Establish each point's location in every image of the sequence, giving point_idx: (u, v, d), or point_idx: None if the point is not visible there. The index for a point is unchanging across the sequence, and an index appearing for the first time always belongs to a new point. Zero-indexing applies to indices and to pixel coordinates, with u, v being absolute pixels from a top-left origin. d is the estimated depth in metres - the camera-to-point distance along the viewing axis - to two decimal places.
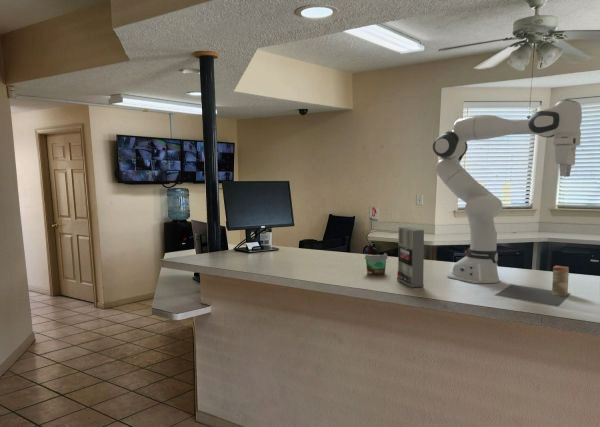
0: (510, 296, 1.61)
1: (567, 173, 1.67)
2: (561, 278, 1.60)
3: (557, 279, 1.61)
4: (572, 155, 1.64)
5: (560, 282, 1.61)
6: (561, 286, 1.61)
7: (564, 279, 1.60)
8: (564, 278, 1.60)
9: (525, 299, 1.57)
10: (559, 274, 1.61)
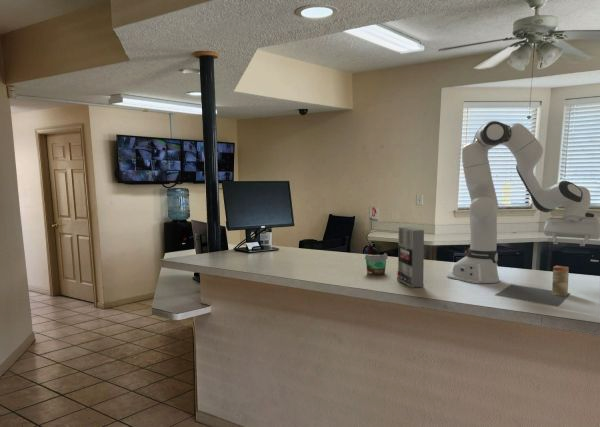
0: (510, 296, 1.61)
1: (557, 241, 1.73)
2: (561, 278, 1.60)
3: (557, 279, 1.61)
4: None
5: (560, 282, 1.61)
6: (561, 286, 1.61)
7: (564, 279, 1.60)
8: (564, 278, 1.60)
9: (525, 299, 1.57)
10: (559, 274, 1.61)
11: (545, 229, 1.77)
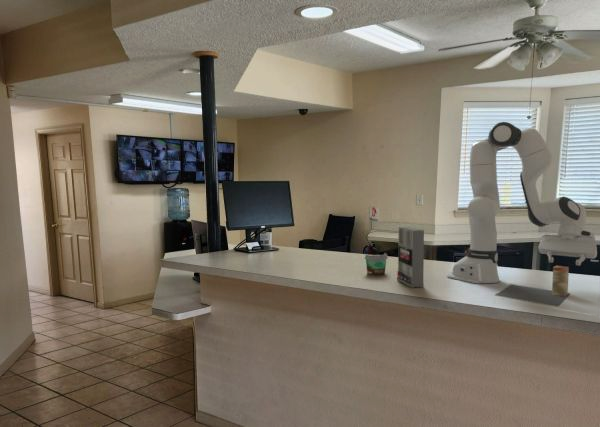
0: (510, 296, 1.61)
1: (553, 259, 1.69)
2: (561, 278, 1.60)
3: (557, 279, 1.61)
4: None
5: (560, 282, 1.61)
6: (561, 286, 1.61)
7: (564, 279, 1.60)
8: (564, 278, 1.60)
9: (525, 299, 1.57)
10: (559, 274, 1.61)
11: (540, 247, 1.73)
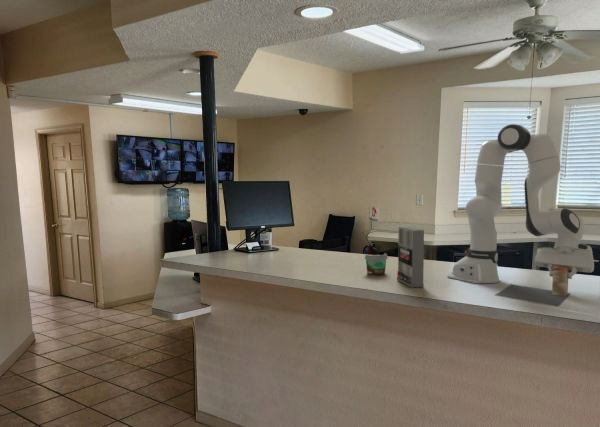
0: (510, 296, 1.61)
1: None
2: (561, 278, 1.60)
3: (557, 279, 1.61)
4: None
5: (560, 282, 1.61)
6: (561, 286, 1.61)
7: (564, 279, 1.60)
8: (564, 278, 1.60)
9: (525, 299, 1.57)
10: (559, 274, 1.61)
11: (536, 259, 1.70)
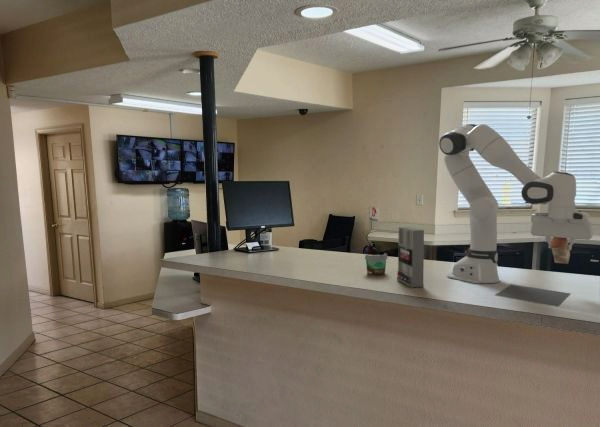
0: (510, 296, 1.61)
1: None
2: (561, 253, 1.58)
3: (557, 253, 1.59)
4: None
5: (560, 255, 1.59)
6: (562, 257, 1.60)
7: (564, 253, 1.58)
8: (564, 253, 1.57)
9: (525, 299, 1.57)
10: (558, 250, 1.58)
11: (532, 233, 1.64)
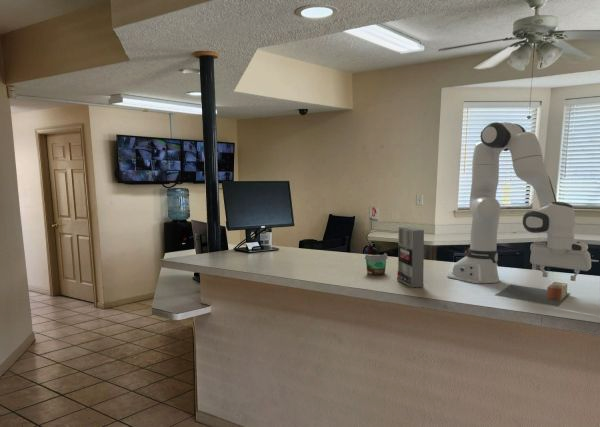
0: (510, 296, 1.61)
1: (547, 273, 1.63)
2: None
3: None
4: None
5: None
6: None
7: None
8: None
9: (525, 299, 1.57)
10: None
11: (532, 261, 1.65)
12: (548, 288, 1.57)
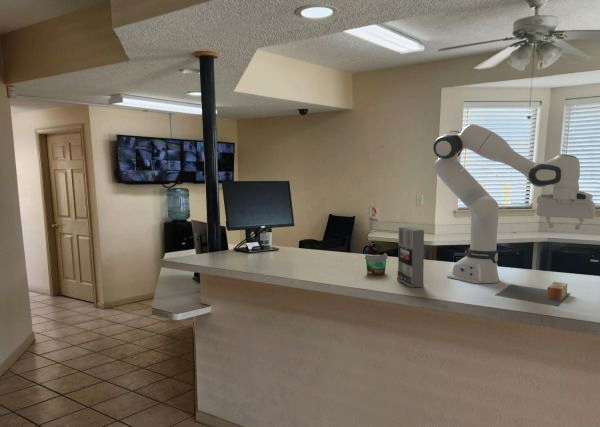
0: (510, 296, 1.61)
1: (553, 224, 1.70)
2: None
3: None
4: None
5: None
6: None
7: None
8: None
9: (525, 299, 1.57)
10: None
11: (538, 213, 1.72)
12: (548, 288, 1.57)
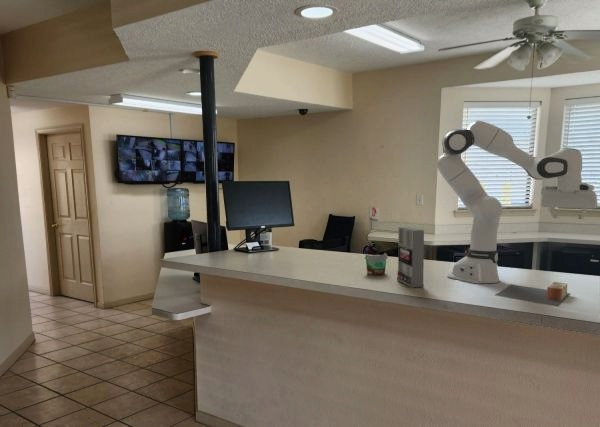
0: (510, 296, 1.61)
1: None
2: None
3: None
4: None
5: None
6: None
7: None
8: None
9: (525, 299, 1.57)
10: None
11: (543, 204, 1.81)
12: (548, 288, 1.57)
